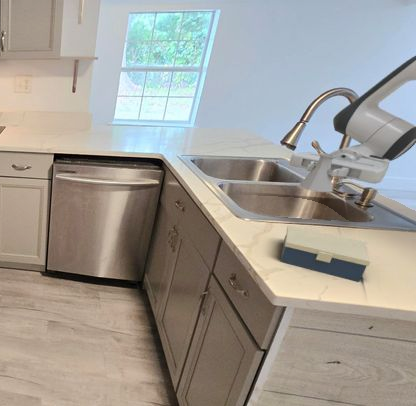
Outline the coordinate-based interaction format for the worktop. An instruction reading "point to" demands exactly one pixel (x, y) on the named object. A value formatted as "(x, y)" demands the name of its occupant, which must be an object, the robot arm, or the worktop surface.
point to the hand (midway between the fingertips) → (320, 170)
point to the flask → (320, 175)
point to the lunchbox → (325, 253)
